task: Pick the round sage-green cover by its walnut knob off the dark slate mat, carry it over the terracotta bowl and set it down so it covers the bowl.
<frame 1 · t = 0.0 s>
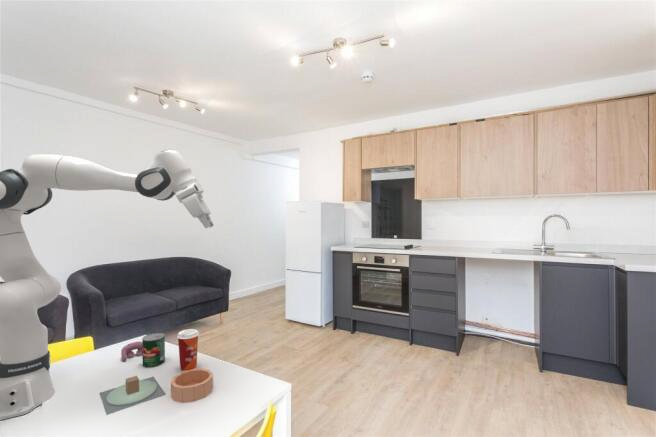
hand: (210, 227, 114), 54 cm above the table, tool tilted 30°, fingers open, 8 cm apart
video game controller: (135, 357, 134), on the table
bowl: (192, 392, 106), on the table
paper cup: (188, 368, 123), on the table
cover: (132, 393, 105), resting on mat
mat: (132, 395, 105), on the table
canned tomato: (153, 364, 127), on the table
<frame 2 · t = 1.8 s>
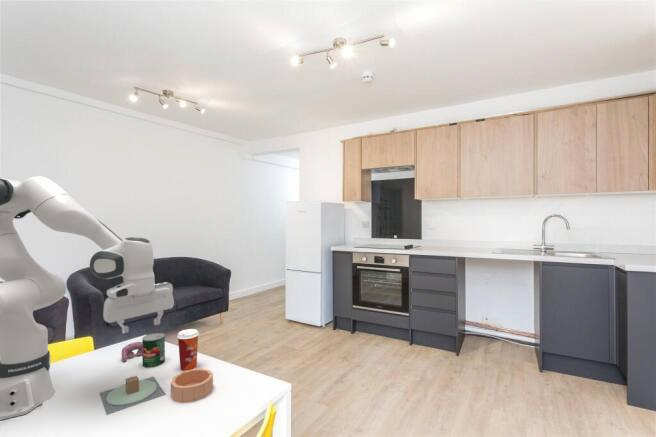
hand: (141, 328, 106), 21 cm above the table, tool pointing down, fingers open, 8 cm apart
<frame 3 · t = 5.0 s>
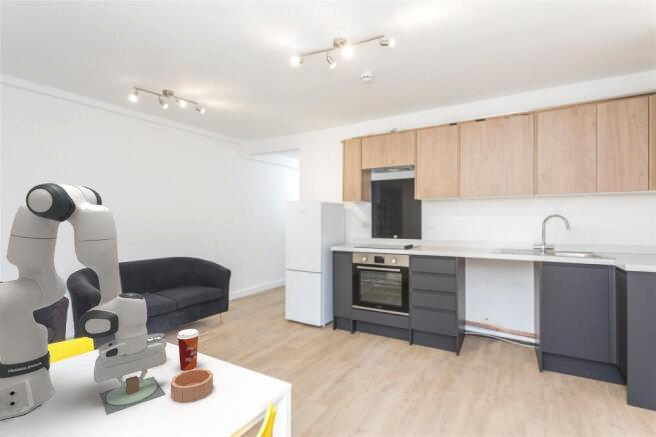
hand: (132, 385, 105), 3 cm above the table, tool pointing down, fingers closed on cover, 3 cm apart
cover: (132, 393, 105), resting on mat, touching gripper
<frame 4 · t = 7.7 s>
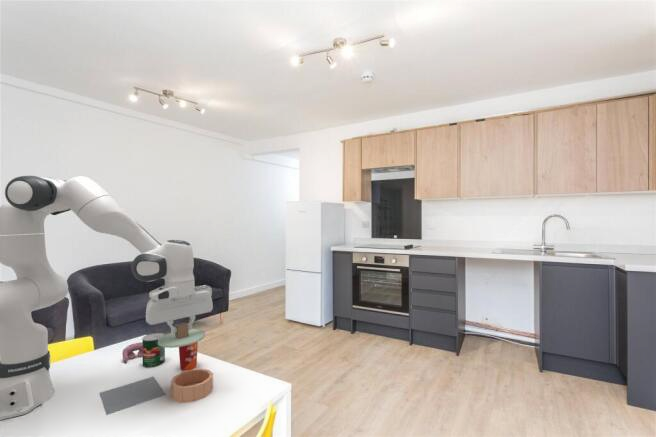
hand: (181, 331, 106), 20 cm above the table, tool pointing down, fingers closed on cover, 3 cm apart
cover: (182, 339, 106), point 18 cm above the table, touching gripper
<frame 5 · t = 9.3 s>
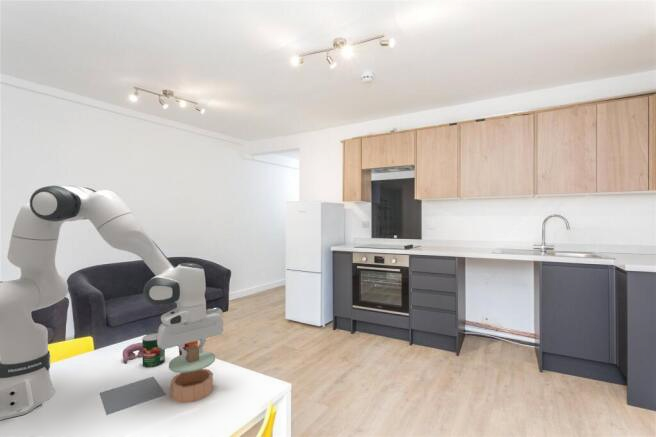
hand: (192, 354, 106), 13 cm above the table, tool pointing down, fingers closed on cover, 3 cm apart
cover: (192, 362, 106), point 10 cm above the table, touching gripper
when the fingers open (9 cm above the table, at t = 10.6 s): cover drops 1 cm, resting on bowl.
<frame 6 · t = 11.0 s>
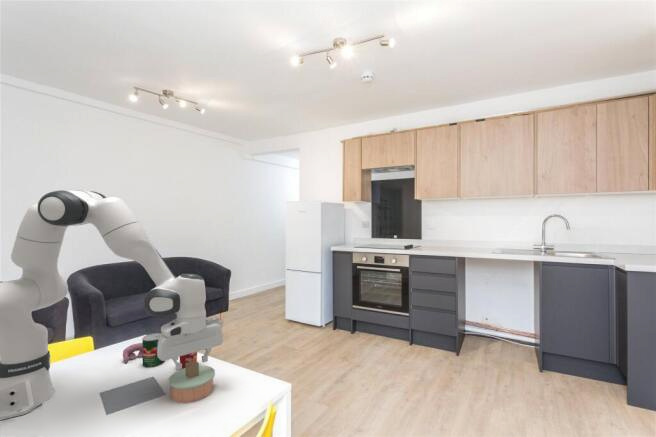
hand: (192, 365, 106), 9 cm above the table, tool pointing down, fingers open, 7 cm apart
cover: (192, 377, 106), point 5 cm above the table, touching bowl
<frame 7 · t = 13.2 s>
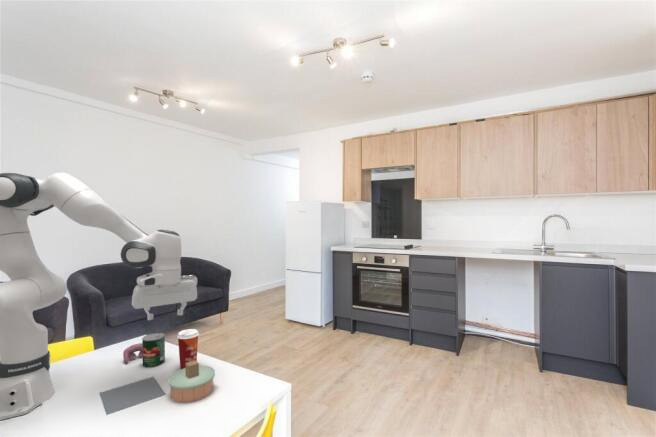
hand: (165, 317, 111), 23 cm above the table, tool pointing down, fingers open, 8 cm apart
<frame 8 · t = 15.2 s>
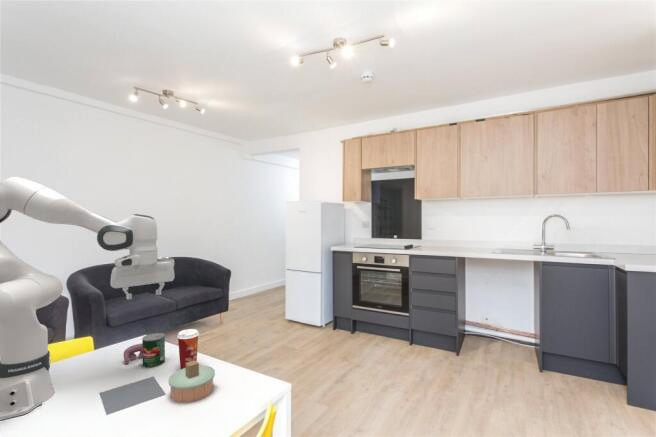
hand: (144, 296, 117), 29 cm above the table, tool pointing down, fingers open, 8 cm apart
at the end: cover 0.0 cm from the bowl (horizontally); cover point 5.0 cm above the table; cover tilted 0° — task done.
